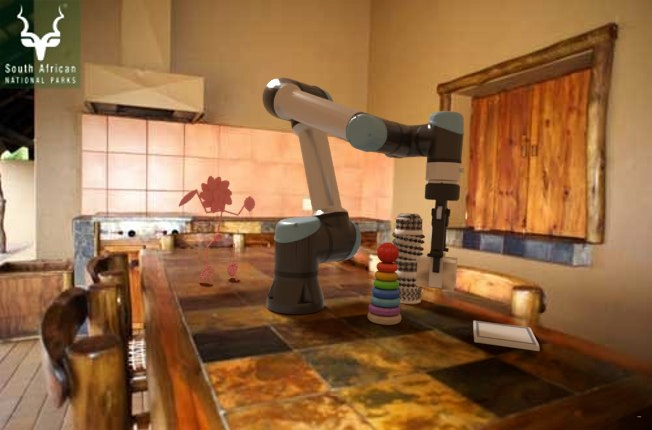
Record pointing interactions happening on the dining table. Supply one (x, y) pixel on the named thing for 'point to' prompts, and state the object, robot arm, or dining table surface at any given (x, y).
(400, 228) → the decorative candle
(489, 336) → the board
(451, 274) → the birch block
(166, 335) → the dining table surface
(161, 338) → the dining table surface
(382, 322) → the stacking toy
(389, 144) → the robot arm
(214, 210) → the figurine
